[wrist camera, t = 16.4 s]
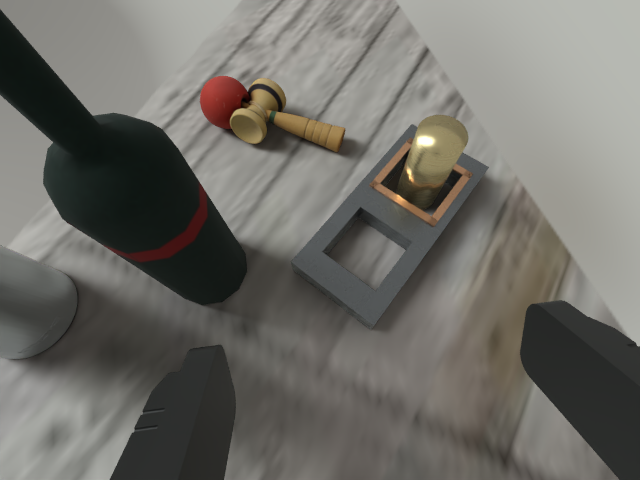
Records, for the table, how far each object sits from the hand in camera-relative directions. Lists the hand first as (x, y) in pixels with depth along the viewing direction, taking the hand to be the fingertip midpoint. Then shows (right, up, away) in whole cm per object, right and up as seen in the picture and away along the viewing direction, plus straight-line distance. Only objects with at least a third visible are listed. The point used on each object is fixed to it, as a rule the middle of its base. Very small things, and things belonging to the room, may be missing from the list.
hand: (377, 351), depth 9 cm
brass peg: (+10, +8, +31) cm, 33 cm away
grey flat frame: (+6, +5, +29) cm, 30 cm away
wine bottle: (-14, 0, +28) cm, 31 cm away
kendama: (-7, +17, +35) cm, 40 cm away
